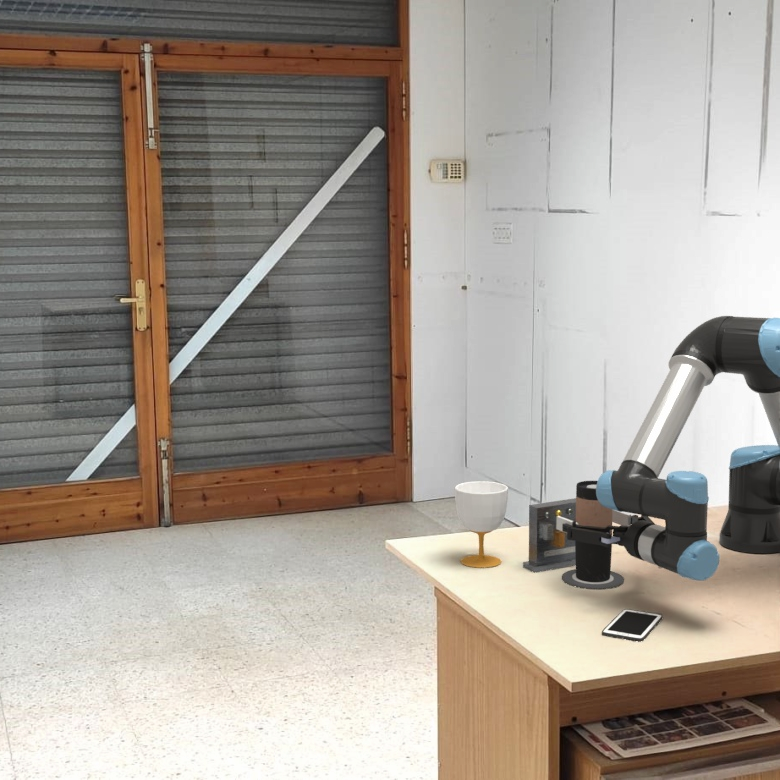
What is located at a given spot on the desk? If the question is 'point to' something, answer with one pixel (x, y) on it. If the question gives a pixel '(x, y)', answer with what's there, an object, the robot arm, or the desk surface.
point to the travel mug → (589, 557)
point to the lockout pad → (572, 580)
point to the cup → (481, 514)
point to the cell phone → (632, 625)
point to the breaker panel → (550, 536)
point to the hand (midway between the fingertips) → (584, 518)
